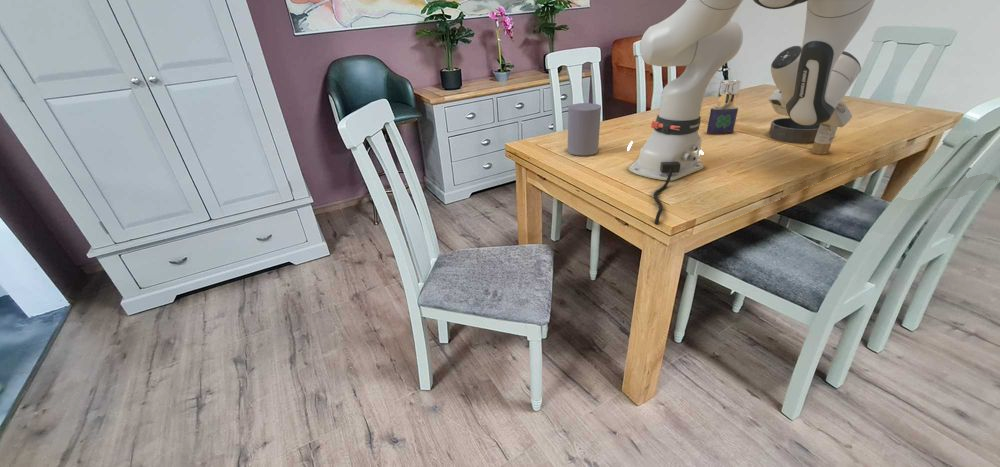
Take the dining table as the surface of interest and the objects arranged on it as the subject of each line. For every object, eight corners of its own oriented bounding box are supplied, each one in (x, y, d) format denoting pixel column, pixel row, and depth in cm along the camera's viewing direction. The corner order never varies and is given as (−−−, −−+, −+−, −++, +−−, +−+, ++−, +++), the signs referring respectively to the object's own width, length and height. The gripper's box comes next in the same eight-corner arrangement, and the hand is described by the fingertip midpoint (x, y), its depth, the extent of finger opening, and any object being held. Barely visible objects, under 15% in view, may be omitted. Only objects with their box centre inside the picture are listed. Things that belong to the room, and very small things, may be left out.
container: (573, 145, 147) (574, 102, 140) (601, 148, 143) (604, 104, 135) (562, 154, 139) (563, 109, 132) (592, 157, 135) (595, 111, 127)
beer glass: (708, 120, 165) (716, 81, 157) (723, 118, 166) (731, 79, 159) (721, 124, 159) (730, 83, 151) (736, 122, 160) (745, 81, 153)
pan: (814, 146, 133) (818, 132, 130) (762, 138, 142) (765, 125, 140) (825, 134, 141) (829, 121, 139) (775, 128, 151) (779, 115, 149)
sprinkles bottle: (819, 149, 130) (834, 105, 123) (832, 153, 126) (848, 109, 119) (806, 150, 129) (821, 107, 123) (819, 155, 125) (834, 110, 119)
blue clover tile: (731, 131, 151) (737, 101, 145) (734, 133, 148) (741, 103, 143) (705, 132, 151) (710, 102, 146) (708, 135, 149) (714, 104, 144)
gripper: (851, 92, 106) (862, 124, 114) (778, 81, 123) (792, 110, 130) (833, 112, 107) (845, 143, 114) (763, 98, 123) (778, 126, 131)
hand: (816, 125), depth 122 cm, fingers open, 8 cm apart
